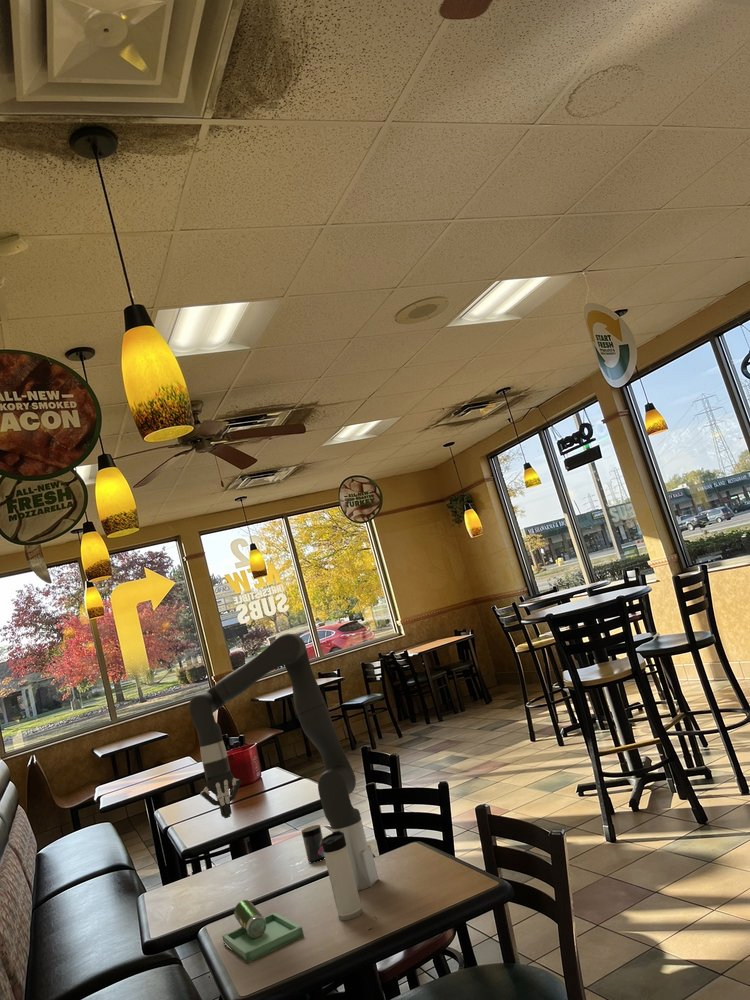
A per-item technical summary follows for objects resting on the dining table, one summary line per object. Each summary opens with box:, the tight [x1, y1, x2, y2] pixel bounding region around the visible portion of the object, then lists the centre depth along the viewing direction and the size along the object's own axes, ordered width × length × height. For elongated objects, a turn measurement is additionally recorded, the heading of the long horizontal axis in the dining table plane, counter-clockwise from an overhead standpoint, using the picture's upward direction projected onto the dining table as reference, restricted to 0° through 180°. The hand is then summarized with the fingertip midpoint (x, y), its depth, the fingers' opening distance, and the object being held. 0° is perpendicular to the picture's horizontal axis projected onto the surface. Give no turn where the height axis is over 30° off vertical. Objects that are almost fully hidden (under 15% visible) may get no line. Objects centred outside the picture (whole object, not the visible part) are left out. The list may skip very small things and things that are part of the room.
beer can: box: [233, 899, 266, 938], centre depth 192 cm, size 5×5×12 cm
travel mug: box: [321, 831, 363, 921], centre depth 190 cm, size 6×7×20 cm
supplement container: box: [301, 824, 325, 864], centre depth 249 cm, size 7×7×10 cm
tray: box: [221, 911, 305, 964], centre depth 187 cm, size 20×15×2 cm
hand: (227, 817), depth 218 cm, fingers closed
